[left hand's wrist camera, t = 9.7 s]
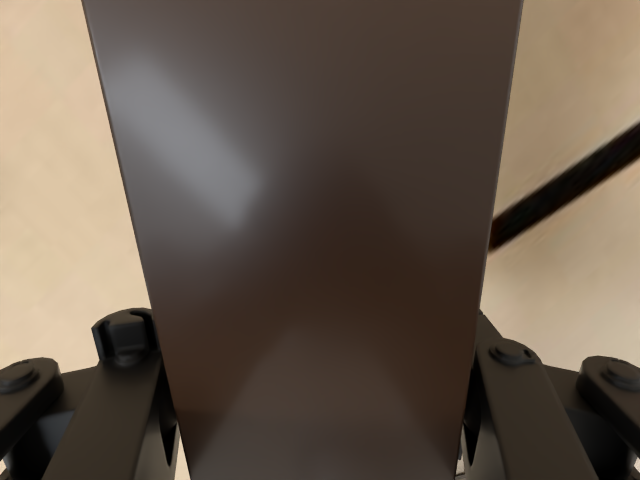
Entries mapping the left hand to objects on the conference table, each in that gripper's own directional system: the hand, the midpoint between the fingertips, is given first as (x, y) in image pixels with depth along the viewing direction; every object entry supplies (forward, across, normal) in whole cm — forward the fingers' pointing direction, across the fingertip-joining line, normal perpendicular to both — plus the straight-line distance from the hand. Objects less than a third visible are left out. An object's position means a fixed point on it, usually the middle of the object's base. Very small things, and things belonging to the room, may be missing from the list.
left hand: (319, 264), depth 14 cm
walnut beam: (+1, 0, -10) cm, 10 cm away
